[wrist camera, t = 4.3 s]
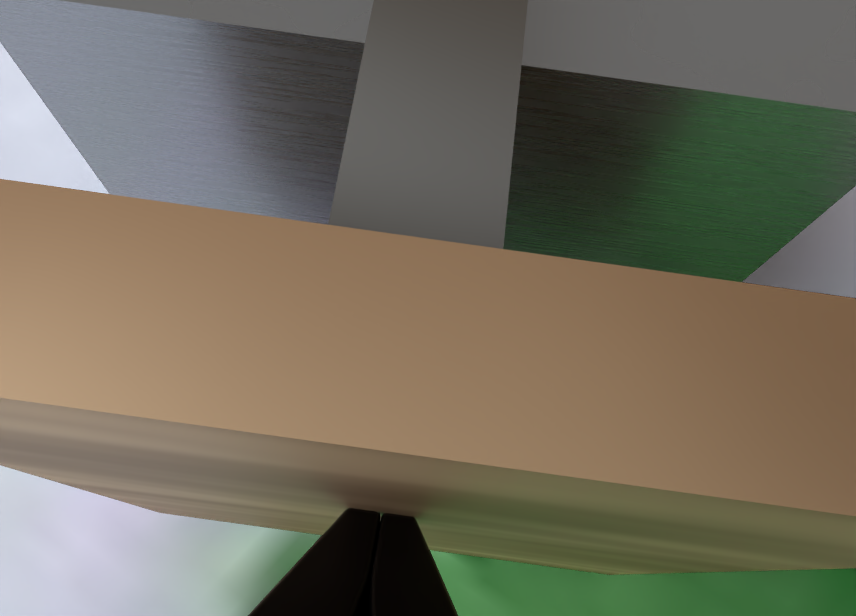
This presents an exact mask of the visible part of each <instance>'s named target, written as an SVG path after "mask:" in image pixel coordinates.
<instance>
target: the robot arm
mask: <svg viewBox="0 0 856 616" xmlns="http://www.w3.org/2000/svg"><path fill="white" fill-rule="evenodd" d="M248 616H458V614H457V612H456V609H455V607H454V605H453V603H452V600H451V598H450V596H449V593H448V591H447V589H446V586H445V584H444V582H443V580H442V577H441V575H440V573H439V570H438V568H437V566H436V564H435V561H434V559H433V557H432V554H431V552H430V550H429V548H428V545H427V543H426V541H425V538H424V536H423V534H422V531H421V529H420V527H419V525H418V522H417V520H416V519H415V518H414V517H412V516H405V515H398V514H391V513H383V514H382V516H381V519H380V513H379V512H376V511H369V510H362V509H355V508H348V509H346V510H345V511H344V512H343V513H342V514H341V515H340V516H339V518H338V519H337V520H336V521H335V522H334V523H333V524H332V525H331V526H330V527H329V528H328V529H327V531H326V532H325V533H324V534H323V535H322V536H321V537H320V538H319V539H318V540H317V541H316V542H315V544H314V545H313V546H312V547H311V548H310V549H309V550H308V551H307V552H306V553H305V554H304V555H303V557H302V558H301V559H300V560H299V561H298V562H297V563H296V564H295V565H294V566H293V567H292V568H291V570H290V571H289V572H288V573H287V574H286V575H285V576H284V577H283V578H282V579H281V580H280V581H279V583H278V584H277V585H276V586H275V587H274V588H273V589H272V590H271V591H270V592H269V593H268V594H267V596H266V597H265V598H264V599H263V600H262V601H261V602H260V603H259V604H258V605H257V606H256V607H255V609H254V610H253V611H252V612H251V613H250V614H249V615H248Z"/></svg>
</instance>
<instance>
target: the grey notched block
mask: <svg viewBox="0 0 856 616" xmlns="http://www.w3.org/2000/svg"><path fill="white" fill-rule="evenodd" d="M373 1H374V0H0V42H1V43H2V45H3V46H4V48H5V49H6V50H7V52H8V53H9V55H10V56H11V57H12V59H13V60H14V62H15V63H16V64H17V66H18V67H19V68H20V70H21V71H22V73H23V74H24V75H25V77H26V78H27V80H28V81H29V82H30V84H31V85H32V87H33V88H34V89H35V91H36V92H37V93H38V95H39V96H40V98H41V99H42V100H43V102H44V103H45V105H46V106H47V107H48V109H49V110H50V112H51V113H52V114H53V116H54V117H55V118H56V120H57V121H58V123H59V124H60V125H61V127H62V128H63V130H64V131H65V132H66V134H67V135H68V137H69V138H70V139H71V141H72V142H73V143H74V145H75V146H76V148H77V149H78V150H79V152H80V153H81V155H82V156H83V157H84V159H85V160H86V162H87V163H88V164H89V166H90V167H91V168H92V170H93V171H94V173H95V174H96V175H97V177H98V178H99V180H100V181H101V182H102V184H103V185H104V187H105V188H106V189H107V191H108V192H109V193H110V194H111V195H119V196H126V197H133V198H140V199H147V200H155V201H162V202H169V203H176V204H183V205H190V206H198V207H205V208H212V209H219V210H226V211H233V212H241V213H248V214H255V215H262V216H269V217H276V218H284V219H291V220H298V221H305V222H312V223H320V224H327V225H328V222H329V217H330V212H331V208H332V203H333V198H334V193H335V188H336V183H337V178H338V173H339V168H340V163H341V158H342V154H343V149H344V144H345V139H346V134H347V129H348V124H349V119H350V114H351V109H352V104H353V99H354V95H355V90H356V85H357V80H358V75H359V70H360V65H361V60H362V55H363V50H364V45H365V40H366V36H367V31H368V26H369V21H370V16H371V11H372V6H373ZM855 186H856V0H528V5H527V15H526V25H525V35H524V45H523V55H522V65H521V75H520V85H519V95H518V105H517V115H516V125H515V136H514V146H513V156H512V166H511V176H510V186H509V196H508V206H507V216H506V226H505V236H504V246H503V249H506V250H513V251H520V252H528V253H535V254H542V255H549V256H556V257H563V258H571V259H578V260H585V261H592V262H599V263H606V264H614V265H621V266H628V267H635V268H642V269H649V270H657V271H664V272H671V273H678V274H685V275H692V276H700V277H707V278H714V279H721V280H728V281H736V282H742V281H743V280H744V279H746V278H747V277H748V276H749V275H750V274H752V273H753V272H754V271H755V270H756V269H757V268H759V267H760V266H761V265H762V264H763V263H765V262H766V261H767V260H768V259H769V258H771V257H772V256H773V255H774V254H775V253H776V252H778V251H779V250H780V249H781V248H782V247H784V246H785V245H786V244H787V243H788V242H789V241H791V240H792V239H793V238H794V237H795V236H797V235H798V234H799V233H800V232H801V231H802V230H804V229H805V228H806V227H807V226H808V225H810V224H811V223H812V222H813V221H814V220H815V219H817V218H818V217H819V216H820V215H821V214H823V213H824V212H825V211H826V210H827V209H828V208H830V207H831V206H832V205H833V204H834V203H836V202H837V201H838V200H839V199H840V198H842V197H843V196H844V195H845V194H846V193H847V192H849V191H850V190H851V189H852V188H853V187H855Z"/></svg>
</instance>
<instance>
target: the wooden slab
mask: <svg viewBox="0 0 856 616" xmlns="http://www.w3.org/2000/svg"><path fill="white" fill-rule="evenodd" d="M527 5H528V0H374V1H373V6H372V11H371V16H370V21H369V26H368V31H367V36H366V40H365V45H364V50H363V55H362V60H361V65H360V70H359V75H358V80H357V85H356V90H355V95H354V99H353V104H352V109H351V114H350V119H349V124H348V129H347V134H346V139H345V144H344V149H343V154H342V158H341V163H340V168H339V173H338V178H337V183H336V188H335V193H334V198H333V203H332V208H331V212H330V217H329V222H328V225H327V224H320V223H312V222H305V221H298V220H291V219H284V218H276V217H269V216H262V215H255V214H248V213H241V212H233V211H226V210H219V209H212V208H205V207H198V206H190V205H183V204H176V203H169V202H162V201H155V200H147V199H140V198H133V197H126V196H119V195H111V194H104V193H97V192H90V191H83V190H76V189H68V188H61V187H54V186H47V185H40V184H33V183H25V182H18V181H11V180H4V179H0V465H2V466H5V467H8V468H12V469H15V470H19V471H22V472H25V473H29V474H32V475H35V476H39V477H42V478H45V479H49V480H52V481H55V482H59V483H62V484H66V485H69V486H72V487H76V488H79V489H82V490H86V491H89V492H92V493H96V494H99V495H102V496H106V497H109V498H113V499H116V500H119V501H123V502H126V503H129V504H133V505H136V506H139V507H143V508H146V509H149V510H153V511H156V512H160V513H166V514H173V515H180V516H188V517H195V518H202V519H209V520H217V521H224V522H231V523H238V524H246V525H253V526H260V527H267V528H274V529H282V530H289V531H296V532H303V533H311V534H318V535H323V534H324V533H325V532H326V531H327V529H328V528H329V527H330V526H331V525H332V524H333V523H334V522H335V521H336V520H337V519H338V518H339V516H340V515H341V514H342V513H343V512H344V511H345V510H346V509H348V508H355V509H362V510H369V511H376V512H379V513H380V519H381V516H382V514H383V513H391V514H398V515H405V516H412V517H414V518H415V519H416V520H417V522H418V525H419V527H420V529H421V531H422V534H423V536H424V538H425V541H426V543H427V545H428V548H429V550H434V551H441V552H448V553H455V554H463V555H470V556H477V557H484V558H492V559H499V560H506V561H513V562H520V563H528V564H535V565H542V566H549V567H557V568H564V569H571V570H578V571H586V572H593V573H600V574H607V575H619V574H657V573H695V572H733V571H772V570H810V569H848V568H856V298H850V297H843V296H836V295H829V294H822V293H814V292H807V291H800V290H793V289H786V288H779V287H771V286H764V285H757V284H750V283H743V282H736V281H728V280H721V279H714V278H707V277H700V276H692V275H685V274H678V273H671V272H664V271H657V270H649V269H642V268H635V267H628V266H621V265H614V264H606V263H599V262H592V261H585V260H578V259H571V258H563V257H556V256H549V255H542V254H535V253H528V252H520V251H513V250H506V249H503V246H504V236H505V226H506V216H507V206H508V196H509V186H510V176H511V166H512V156H513V146H514V136H515V125H516V115H517V105H518V95H519V85H520V75H521V65H522V55H523V45H524V35H525V25H526V15H527Z"/></svg>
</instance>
